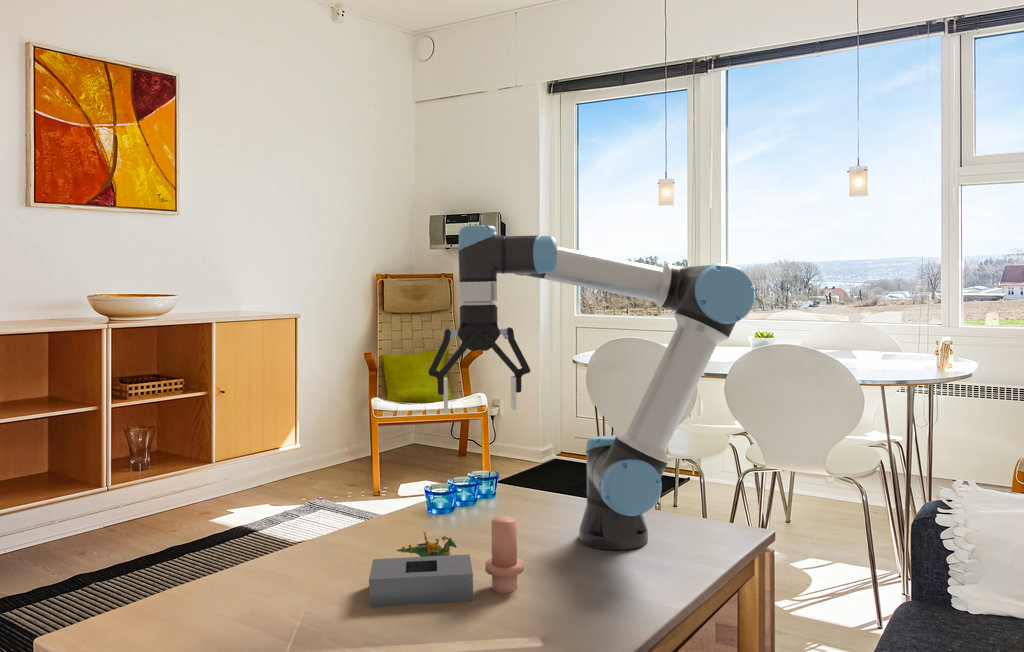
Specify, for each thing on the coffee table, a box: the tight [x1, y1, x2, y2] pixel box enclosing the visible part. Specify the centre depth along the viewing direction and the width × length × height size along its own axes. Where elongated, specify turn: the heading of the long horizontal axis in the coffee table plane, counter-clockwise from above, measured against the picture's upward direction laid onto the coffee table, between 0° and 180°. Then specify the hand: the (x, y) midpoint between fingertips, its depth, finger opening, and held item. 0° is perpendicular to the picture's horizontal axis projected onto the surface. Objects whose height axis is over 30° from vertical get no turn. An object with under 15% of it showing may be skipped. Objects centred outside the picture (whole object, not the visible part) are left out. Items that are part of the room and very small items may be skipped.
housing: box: [368, 553, 474, 608], centre depth 138 cm, size 18×10×6 cm, turn 96°
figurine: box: [396, 530, 458, 557], centre depth 152 cm, size 3×12×8 cm, turn 103°
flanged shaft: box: [484, 515, 525, 594], centre depth 140 cm, size 7×7×14 cm
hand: (480, 410), depth 153 cm, fingers open, 13 cm apart
